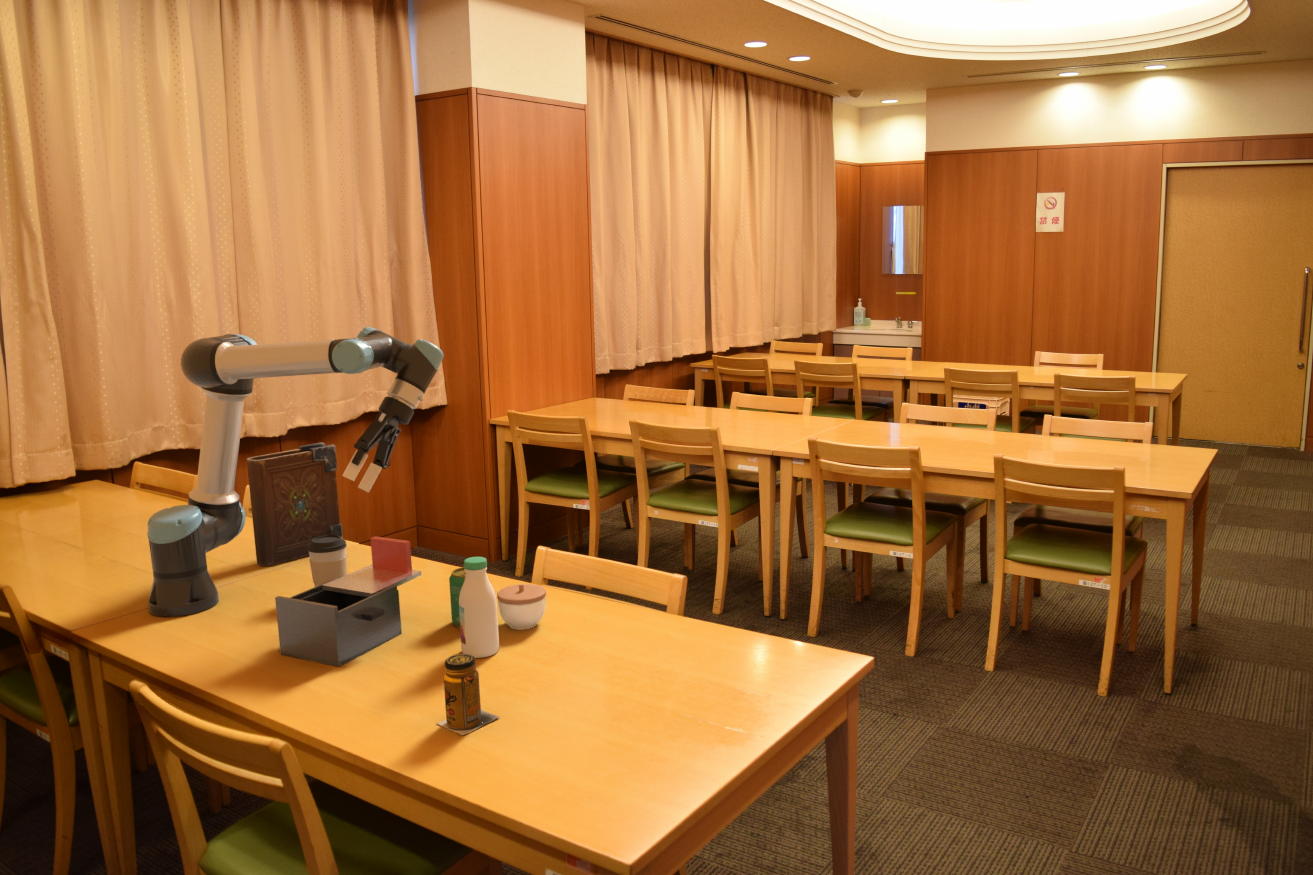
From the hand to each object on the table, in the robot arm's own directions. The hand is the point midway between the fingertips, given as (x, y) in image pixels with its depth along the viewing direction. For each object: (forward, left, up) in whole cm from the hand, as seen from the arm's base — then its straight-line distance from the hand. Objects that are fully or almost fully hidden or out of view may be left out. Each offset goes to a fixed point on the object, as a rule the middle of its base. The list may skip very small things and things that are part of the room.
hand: (355, 484), depth 220 cm
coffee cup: (-11, +13, -31) cm, 35 cm away
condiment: (+30, -57, -31) cm, 72 cm away
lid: (+4, -9, -20) cm, 23 cm away
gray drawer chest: (-1, -18, -31) cm, 36 cm away
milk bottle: (+29, -26, -31) cm, 50 cm away
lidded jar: (+37, -12, -31) cm, 50 cm away
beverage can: (+25, -9, -31) cm, 41 cm away
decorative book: (-29, +48, -31) cm, 64 cm away
